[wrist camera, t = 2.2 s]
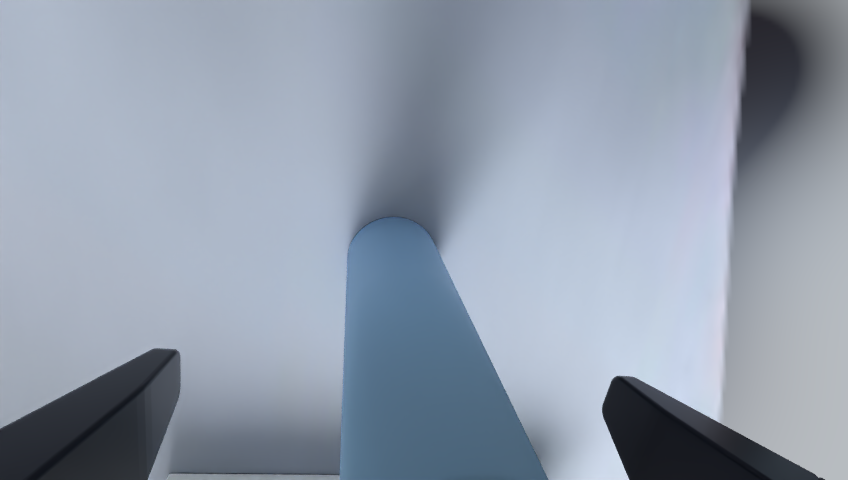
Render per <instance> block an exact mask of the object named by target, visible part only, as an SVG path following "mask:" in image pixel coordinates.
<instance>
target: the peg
mask: <svg viewBox="0 0 848 480" xmlns="http://www.w3.org/2000/svg"><path fill="white" fill-rule="evenodd" d="M340 480H548V478H547V476H546V474H545V472H544V470H543V468H542V466H541V464H540V462H539V460H538V457H537V455H536V453H535V451H534V449H533V447H532V445H531V443H530V441H529V439H528V437H527V435H526V433H525V431H524V428H523V426H522V424H521V422H520V420H519V418H518V416H517V414H516V412H515V410H514V408H513V406H512V404H511V402H510V399H509V397H508V395H507V393H506V391H505V389H504V387H503V385H502V383H501V381H500V379H499V377H498V375H497V373H496V371H495V368H494V366H493V364H492V362H491V360H490V358H489V356H488V354H487V352H486V350H485V348H484V346H483V344H482V342H481V339H480V337H479V335H478V333H477V331H476V329H475V327H474V325H473V323H472V321H471V319H470V317H469V315H468V313H467V310H466V308H465V306H464V304H463V302H462V300H461V298H460V296H459V294H458V292H457V290H456V288H455V286H454V284H453V281H452V279H451V277H450V275H449V273H448V271H447V269H446V267H445V265H444V263H443V261H442V259H441V257H440V255H439V252H438V250H437V248H436V246H435V244H434V242H433V240H432V238H431V236H430V235H429V233H428V232H427V231H426V230H425V229H424V228H423V227H422V226H420V225H419V224H417V223H416V222H413V221H411V220H409V219H406V218H401V217H386V218H381V219H378V220H375V221H373V222H371V223H369V224H368V225H366V226H365V227H363V228H362V229H361V230H360V231H359V232H358V233H357V234H356V236H355V237H354V239H353V240H352V242H351V244H350V247H349V250H348V257H347V284H346V312H345V340H344V368H343V396H342V424H341V453H340Z"/></svg>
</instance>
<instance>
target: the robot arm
mask: <svg viewBox="0 0 848 480" xmlns="http://www.w3.org/2000/svg"><path fill="white" fill-rule="evenodd" d="M179 393H180V353H179V352H178V351H177V350H175V349H160V348H155V349H152V350H150V351H148V352H146V353H144V354H142V355H140V356H138V357H136V358H135V359H133V360H131V361H129V362H127V363H125V364H123V365H121V366H119V367H117V368H115V369H114V370H112V371H110V372H108V373H106V374H104V375H102V376H100V377H98V378H96V379H94V380H93V381H91V382H89V383H87V384H85V385H83V386H81V387H79V388H77V389H75V390H73V391H72V392H70V393H68V394H66V395H64V396H62V397H60V398H58V399H56V400H54V401H52V402H51V403H49V404H47V405H45V406H43V407H41V408H39V409H37V410H35V411H33V412H31V413H30V414H28V415H26V416H24V417H22V418H20V419H18V420H16V421H14V422H12V423H10V424H9V425H7V426H5V427H3V428H1V429H0V480H147V479H148V477H149V474H150V472H151V469H152V467H153V464H154V461H155V459H156V456H157V454H158V451H159V448H160V446H161V443H162V440H163V438H164V435H165V433H166V430H167V427H168V425H169V422H170V419H171V417H172V414H173V412H174V409H175V406H176V404H177V401H178V398H179ZM602 413H603V417H604V420H605V422H606V425H607V427H608V430H609V432H610V434H611V437H612V439H613V442H614V444H615V446H616V449H617V451H618V454H619V456H620V459H621V461H622V463H623V466H624V468H625V471H626V473H627V475H628V477H629V480H825V479H823V478H818V477H817V476H816V475H815V474H813V473H812V472H809V471H808V470H806V469H804V468H802V467H800V466H799V465H797V464H795V463H793V462H791V461H789V460H787V459H785V458H783V457H782V456H780V455H778V454H776V453H774V452H772V451H771V450H769V449H767V448H765V447H763V446H761V445H759V444H758V443H756V442H754V441H752V440H750V439H748V438H746V437H744V436H743V435H741V434H739V433H737V432H735V431H733V430H732V429H730V428H728V427H726V426H724V425H722V424H720V423H719V422H717V421H715V420H713V419H711V418H709V417H707V416H706V415H704V414H702V413H700V412H698V411H696V410H694V409H693V408H691V407H689V406H687V405H685V404H683V403H681V402H680V401H678V400H676V399H674V398H672V397H670V396H668V395H667V394H665V393H663V392H661V391H659V390H657V389H655V388H653V387H652V386H650V385H648V384H646V383H644V382H642V381H640V380H639V379H637V378H635V377H630V376H616V377H614V378H613V380H612V381H611V384H610V387H609V389H608V392H607V395H606V397H605V400H604V403H603V406H602Z"/></svg>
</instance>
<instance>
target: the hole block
mask: <svg viewBox="0 0 848 480" xmlns="http://www.w3.org/2000/svg"><path fill="white" fill-rule="evenodd" d="M167 480H340V475H281V474H169V475H168V477H167Z"/></svg>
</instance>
